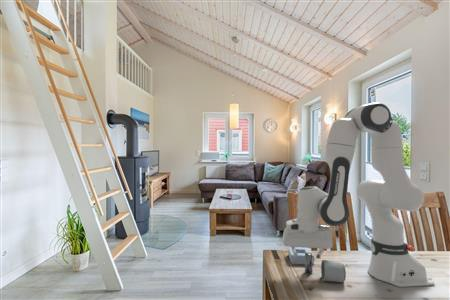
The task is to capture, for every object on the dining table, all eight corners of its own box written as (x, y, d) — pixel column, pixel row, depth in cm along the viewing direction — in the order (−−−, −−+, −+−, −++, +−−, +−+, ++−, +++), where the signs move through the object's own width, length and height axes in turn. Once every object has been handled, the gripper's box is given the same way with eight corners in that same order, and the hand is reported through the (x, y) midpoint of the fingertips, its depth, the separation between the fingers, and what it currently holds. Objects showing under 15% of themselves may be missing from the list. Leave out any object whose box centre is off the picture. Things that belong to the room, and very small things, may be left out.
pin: (311, 271, 112) (311, 252, 112) (313, 274, 109) (313, 255, 109) (304, 270, 112) (304, 252, 112) (305, 274, 109) (305, 255, 109)
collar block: (309, 255, 128) (309, 247, 128) (313, 264, 118) (313, 255, 118) (288, 254, 129) (288, 246, 129) (291, 263, 119) (291, 255, 119)
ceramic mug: (346, 286, 100) (346, 265, 100) (324, 284, 101) (324, 264, 101) (339, 273, 110) (339, 255, 110) (319, 272, 111) (319, 254, 112)
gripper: (330, 223, 113) (329, 256, 113) (282, 221, 115) (281, 253, 114) (335, 228, 106) (334, 262, 106) (284, 225, 108) (283, 258, 108)
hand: (306, 257), depth 110 cm, fingers open, 8 cm apart
